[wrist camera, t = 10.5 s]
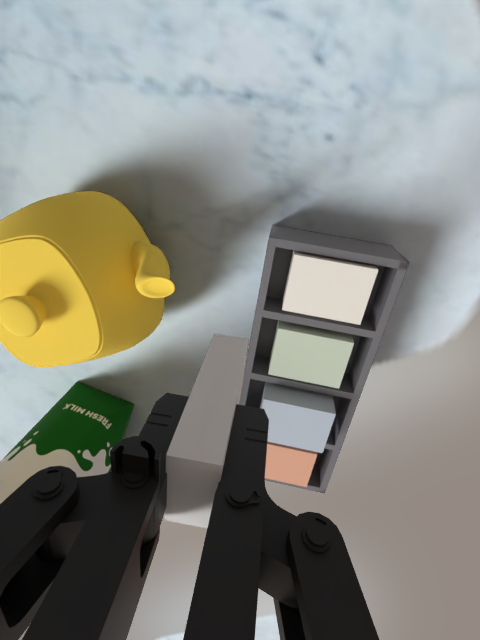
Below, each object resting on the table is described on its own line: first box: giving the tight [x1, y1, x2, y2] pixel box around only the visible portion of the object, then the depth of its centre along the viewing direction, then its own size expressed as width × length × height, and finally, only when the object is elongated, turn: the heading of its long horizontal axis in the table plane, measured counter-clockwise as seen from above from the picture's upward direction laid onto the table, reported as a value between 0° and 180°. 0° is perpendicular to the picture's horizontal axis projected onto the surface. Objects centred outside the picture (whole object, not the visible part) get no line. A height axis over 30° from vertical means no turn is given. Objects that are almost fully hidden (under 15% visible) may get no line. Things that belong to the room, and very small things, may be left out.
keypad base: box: [239, 225, 409, 493], centre depth 33 cm, size 24×10×5 cm, turn 172°
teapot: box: [0, 191, 175, 367], centre depth 28 cm, size 13×20×12 cm
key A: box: [282, 250, 378, 325], centre depth 27 cm, size 4×6×3 cm
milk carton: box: [0, 382, 134, 504], centre depth 33 cm, size 9×9×20 cm
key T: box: [268, 320, 354, 389], centre depth 30 cm, size 4×6×3 cm
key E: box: [265, 441, 317, 487], centre depth 35 cm, size 4×6×3 cm
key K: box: [260, 382, 336, 453], centre depth 31 cm, size 4×6×3 cm
